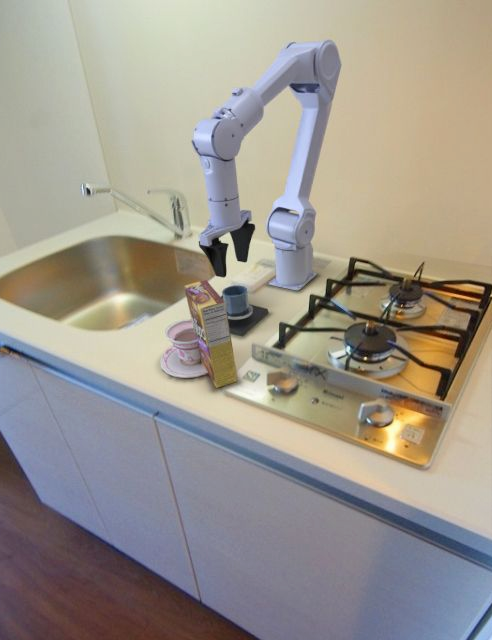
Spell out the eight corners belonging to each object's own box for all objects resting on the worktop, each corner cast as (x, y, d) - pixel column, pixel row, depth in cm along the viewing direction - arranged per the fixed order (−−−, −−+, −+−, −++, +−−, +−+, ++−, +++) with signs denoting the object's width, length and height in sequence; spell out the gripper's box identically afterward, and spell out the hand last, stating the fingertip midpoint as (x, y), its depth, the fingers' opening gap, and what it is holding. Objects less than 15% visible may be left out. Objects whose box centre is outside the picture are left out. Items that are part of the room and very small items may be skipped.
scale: (232, 301, 95) (230, 288, 93) (271, 311, 91) (270, 298, 89) (200, 325, 88) (198, 312, 86) (242, 336, 83) (240, 323, 82)
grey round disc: (234, 302, 88) (233, 299, 88) (258, 308, 86) (258, 305, 85) (217, 315, 84) (216, 313, 84) (242, 322, 82) (241, 319, 81)
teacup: (236, 347, 81) (233, 319, 77) (205, 385, 73) (199, 355, 69) (183, 337, 85) (177, 309, 81) (147, 371, 77) (139, 342, 73)
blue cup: (233, 301, 87) (231, 283, 85) (253, 306, 85) (252, 288, 83) (219, 312, 84) (217, 293, 82) (240, 317, 82) (238, 298, 80)
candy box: (198, 362, 78) (182, 284, 68) (220, 355, 79) (208, 278, 69) (214, 389, 71) (199, 308, 61) (238, 382, 72) (227, 300, 63)
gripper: (227, 184, 83) (235, 252, 92) (180, 206, 74) (194, 279, 83) (258, 187, 80) (263, 257, 89) (212, 210, 71) (223, 286, 80)
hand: (231, 268), depth 86 cm, fingers open, 7 cm apart
